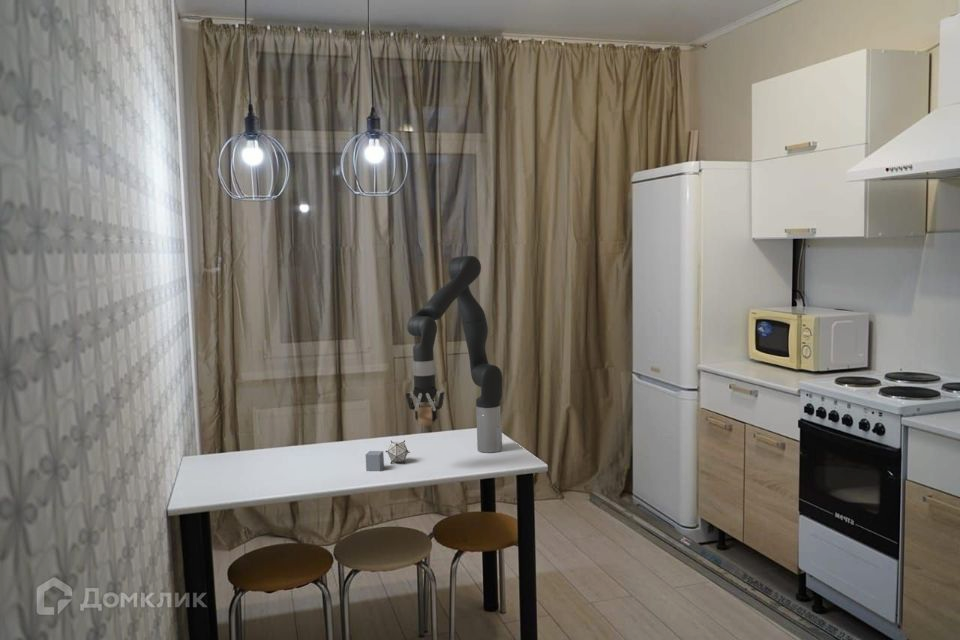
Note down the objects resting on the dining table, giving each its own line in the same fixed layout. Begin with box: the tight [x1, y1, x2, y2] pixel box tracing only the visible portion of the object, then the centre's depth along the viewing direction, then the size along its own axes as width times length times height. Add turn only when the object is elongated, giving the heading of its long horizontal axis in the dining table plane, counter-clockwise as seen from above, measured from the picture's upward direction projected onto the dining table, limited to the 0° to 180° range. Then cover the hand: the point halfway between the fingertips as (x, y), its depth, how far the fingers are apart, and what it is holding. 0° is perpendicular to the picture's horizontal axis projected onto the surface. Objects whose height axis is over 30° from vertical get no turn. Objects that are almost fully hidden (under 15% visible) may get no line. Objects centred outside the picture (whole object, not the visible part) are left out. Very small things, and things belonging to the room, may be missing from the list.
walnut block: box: [417, 404, 436, 426], centre depth 265 cm, size 5×5×6 cm
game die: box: [385, 439, 411, 464], centre depth 276 cm, size 9×8×10 cm
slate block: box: [365, 450, 385, 472], centre depth 269 cm, size 5×5×6 cm
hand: (426, 420), depth 265 cm, fingers closed on walnut block, 5 cm apart
